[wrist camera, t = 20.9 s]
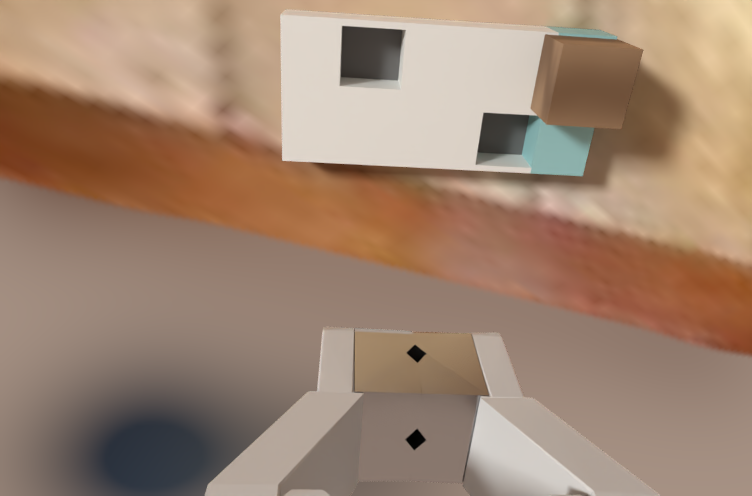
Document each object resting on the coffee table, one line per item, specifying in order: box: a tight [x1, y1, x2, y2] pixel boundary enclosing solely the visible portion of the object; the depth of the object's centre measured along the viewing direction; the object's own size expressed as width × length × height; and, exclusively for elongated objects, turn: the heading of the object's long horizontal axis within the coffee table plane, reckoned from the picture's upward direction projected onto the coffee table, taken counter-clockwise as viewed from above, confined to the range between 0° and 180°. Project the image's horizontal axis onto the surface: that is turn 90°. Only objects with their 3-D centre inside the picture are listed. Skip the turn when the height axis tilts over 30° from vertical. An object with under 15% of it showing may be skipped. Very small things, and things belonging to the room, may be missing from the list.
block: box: [530, 34, 643, 129], centre depth 31 cm, size 4×4×3 cm
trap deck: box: [280, 9, 617, 176], centre depth 34 cm, size 8×18×2 cm, turn 86°
